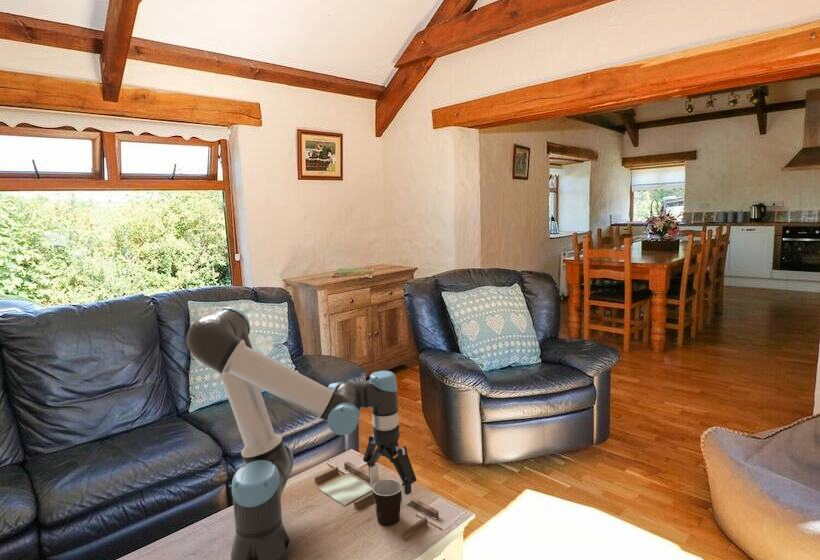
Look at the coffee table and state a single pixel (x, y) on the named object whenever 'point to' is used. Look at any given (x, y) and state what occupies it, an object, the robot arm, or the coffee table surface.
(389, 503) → the coffee mug
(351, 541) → the coffee table surface
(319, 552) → the coffee table surface
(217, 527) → the coffee table surface
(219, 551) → the coffee table surface
